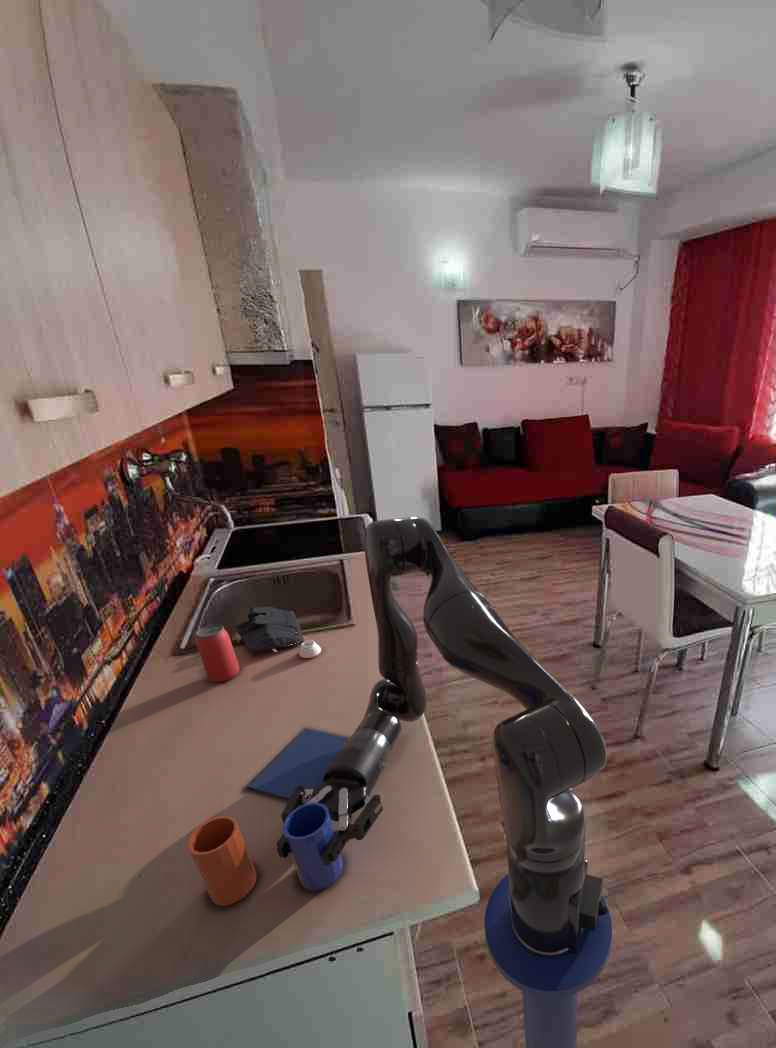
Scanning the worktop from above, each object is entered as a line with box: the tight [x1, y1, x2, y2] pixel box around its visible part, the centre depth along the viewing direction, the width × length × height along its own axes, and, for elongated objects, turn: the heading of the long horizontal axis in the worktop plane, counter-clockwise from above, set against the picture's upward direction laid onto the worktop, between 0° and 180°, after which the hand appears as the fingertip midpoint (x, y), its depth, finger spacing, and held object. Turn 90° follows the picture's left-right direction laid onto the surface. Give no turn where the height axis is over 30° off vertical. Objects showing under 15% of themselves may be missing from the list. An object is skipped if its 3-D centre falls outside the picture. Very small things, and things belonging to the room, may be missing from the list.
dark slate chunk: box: [235, 606, 305, 654], centre depth 133 cm, size 15×22×5 cm
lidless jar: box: [298, 639, 322, 659], centre depth 124 cm, size 5×3×5 cm
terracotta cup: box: [186, 815, 257, 906], centre depth 68 cm, size 6×6×10 cm
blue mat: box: [247, 728, 350, 801], centre depth 90 cm, size 15×15×1 cm
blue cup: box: [282, 803, 344, 891], centre depth 69 cm, size 6×6×10 cm
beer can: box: [195, 624, 241, 683], centre depth 116 cm, size 7×7×12 cm
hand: (303, 857), depth 67 cm, fingers closed on blue cup, 6 cm apart
